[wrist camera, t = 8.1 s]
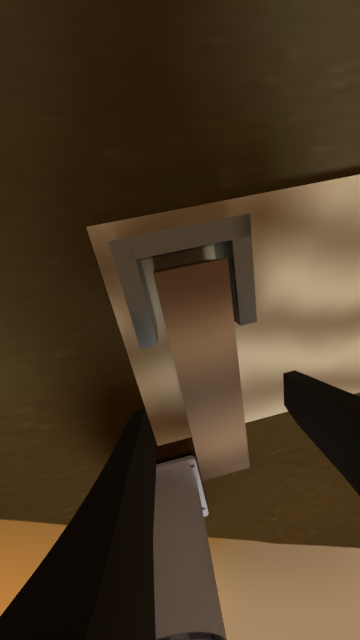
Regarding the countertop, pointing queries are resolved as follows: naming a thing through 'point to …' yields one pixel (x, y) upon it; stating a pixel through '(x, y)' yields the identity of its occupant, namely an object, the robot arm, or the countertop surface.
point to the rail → (206, 361)
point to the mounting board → (259, 297)
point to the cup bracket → (222, 233)
